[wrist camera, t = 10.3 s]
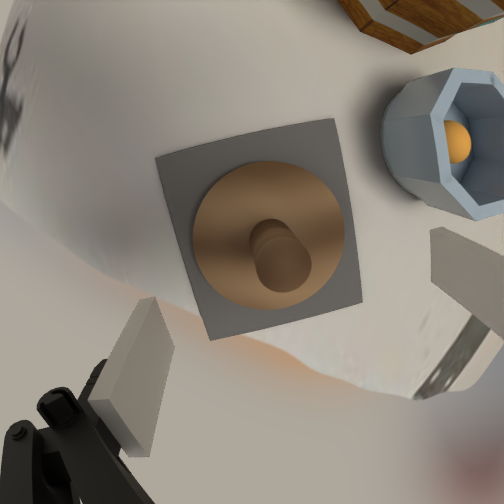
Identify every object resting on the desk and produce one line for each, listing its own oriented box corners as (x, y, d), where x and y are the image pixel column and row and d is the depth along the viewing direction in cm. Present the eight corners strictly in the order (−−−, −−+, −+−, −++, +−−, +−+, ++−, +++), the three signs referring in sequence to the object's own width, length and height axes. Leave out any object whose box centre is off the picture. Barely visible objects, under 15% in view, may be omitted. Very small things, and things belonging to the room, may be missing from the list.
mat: (156, 158, 23) (155, 158, 23) (332, 118, 23) (334, 118, 23) (210, 338, 28) (210, 340, 27) (360, 300, 28) (362, 302, 27)
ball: (419, 122, 22) (444, 119, 19) (449, 120, 22) (475, 118, 19) (426, 164, 23) (451, 167, 20) (456, 160, 23) (482, 162, 20)
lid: (177, 181, 23) (156, 192, 16) (325, 148, 23) (362, 146, 16) (216, 316, 27) (213, 368, 20) (347, 284, 27) (382, 324, 20)
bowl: (367, 87, 22) (418, 66, 15) (458, 85, 22) (515, 74, 15) (389, 209, 26) (444, 230, 18) (474, 190, 26) (531, 204, 18)
